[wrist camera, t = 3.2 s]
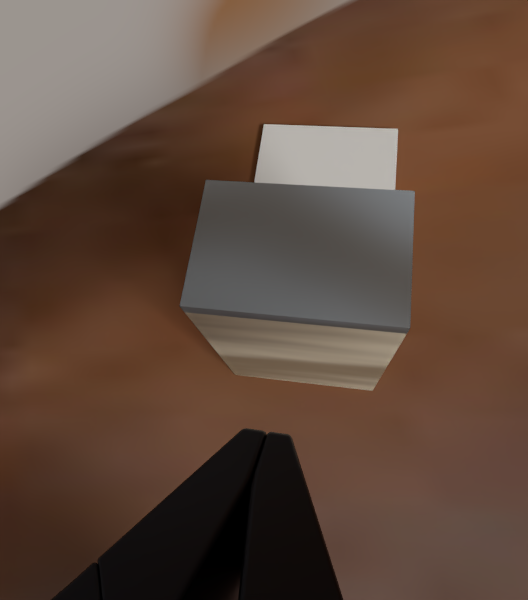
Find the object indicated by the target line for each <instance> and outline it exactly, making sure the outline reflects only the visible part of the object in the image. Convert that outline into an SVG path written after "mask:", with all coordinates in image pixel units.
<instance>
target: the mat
mask: <svg viewBox="0 0 528 600" xmlns="http://www.w3.org/2000/svg"><path fill="white" fill-rule="evenodd" d="M397 140H398V129H386V128H358V127H329V126H300V125H272V124H264V127H263V133H262V139H261V145H260V151H259V157H258V163H257V169H256V175H255V181H254V183H273V184H292V185H310V186H329V187H348V188H367V189H385V190H395V181H396V161H397Z"/></svg>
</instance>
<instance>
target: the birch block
mask: <svg viewBox="0 0 528 600" xmlns="http://www.w3.org/2000/svg"><path fill="white" fill-rule="evenodd" d="M414 195H415V191H404V190H385V189H367V188H348V187H329V186H310V185H292V184H273V183H254V182H235V181H217V180H206V182H205V187H204V192H203V196H202V201H201V206H200V211H199V216H198V220H197V225H196V230H195V235H194V240H193V244H192V249H191V254H190V259H189V264H188V268H187V273H186V278H185V283H184V288H183V292H182V297H181V302H180V307H181V308H182V310H183V311H184V312H185V313H186V315H187V316H188V317H189V318H190V320H191V321H192V322H193V323H194V325H195V326H196V327H197V328H198V329H199V331H200V332H201V333H202V334H203V336H204V337H205V338H206V339H207V341H208V342H209V343H210V344H211V346H212V347H213V348H214V349H215V351H216V352H217V353H218V354H219V355H220V357H221V358H222V359H223V360H224V362H225V363H226V364H227V365H228V367H229V368H230V369H231V370H232V372H233V373H234V374H235V375H242V376H250V377H259V378H268V379H276V380H285V381H294V382H302V383H311V384H320V385H328V386H337V387H346V388H354V389H363V390H372V391H373V389H374V387H375V386H376V384H377V382H378V381H379V379H380V377H381V376H382V374H383V372H384V371H385V369H386V367H387V366H388V364H389V362H390V361H391V359H392V357H393V356H394V354H395V352H396V351H397V349H398V347H399V346H400V344H401V342H402V341H403V339H404V337H405V336H406V334H407V332H408V331H409V329H410V317H411V286H412V256H413V226H414Z"/></svg>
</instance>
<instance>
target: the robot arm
mask: <svg viewBox="0 0 528 600" xmlns="http://www.w3.org/2000/svg"><path fill="white" fill-rule="evenodd" d="M51 600H343V597H342V594H341V591H340V588H339V585H338V581H337V578H336V575H335V572H334V569H333V566H332V563H331V559H330V556H329V553H328V550H327V547H326V544H325V541H324V537H323V534H322V531H321V528H320V525H319V522H318V519H317V515H316V512H315V509H314V506H313V503H312V500H311V497H310V493H309V490H308V487H307V484H306V481H305V478H304V475H303V471H302V468H301V465H300V462H299V459H298V456H297V453H296V449H295V446H294V443H293V440H292V438H291V436H290V435H288V434H282V433H275V432H269V433H268V434H267V435H266V432H264V431H261V430H254V429H247V428H246V429H242V430H241V431H240V432H239V433H238V434H236V435H235V436H234V437H233V438H232V439H231V440H230V441H229V442H228V443H226V444H225V445H224V446H223V447H222V448H221V449H220V450H219V451H218V452H216V453H215V454H214V455H213V456H212V457H211V458H210V459H209V460H207V461H206V462H205V463H204V464H203V465H202V466H201V467H200V468H199V469H197V470H196V471H195V472H194V473H193V474H192V475H191V476H190V477H189V478H187V479H186V480H185V481H184V482H183V483H182V484H181V485H180V486H179V487H177V488H176V489H175V490H174V491H173V492H172V493H171V494H170V495H168V496H167V497H166V498H165V499H164V500H163V501H162V502H161V503H160V504H158V505H157V506H156V507H155V508H154V509H153V510H152V511H151V512H150V513H148V514H147V515H146V516H145V517H144V518H143V519H142V520H141V521H140V522H138V523H137V524H136V525H135V526H134V527H133V528H132V529H131V530H129V531H128V532H127V533H126V534H125V535H124V536H123V537H122V538H121V539H119V540H118V541H117V542H116V543H115V544H114V545H113V546H112V547H111V548H109V549H108V550H107V551H106V552H105V553H104V554H103V555H102V556H101V557H99V558H98V564H97V563H92V564H91V565H90V566H89V567H88V568H87V569H86V570H85V571H83V572H82V573H81V574H80V575H79V576H78V577H77V578H76V579H75V580H73V581H72V582H71V583H70V584H69V585H68V586H66V587H65V588H64V589H63V590H62V591H61V592H59V593H58V594H57V595H56V596H55V597H54V598H52V599H51Z"/></svg>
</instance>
